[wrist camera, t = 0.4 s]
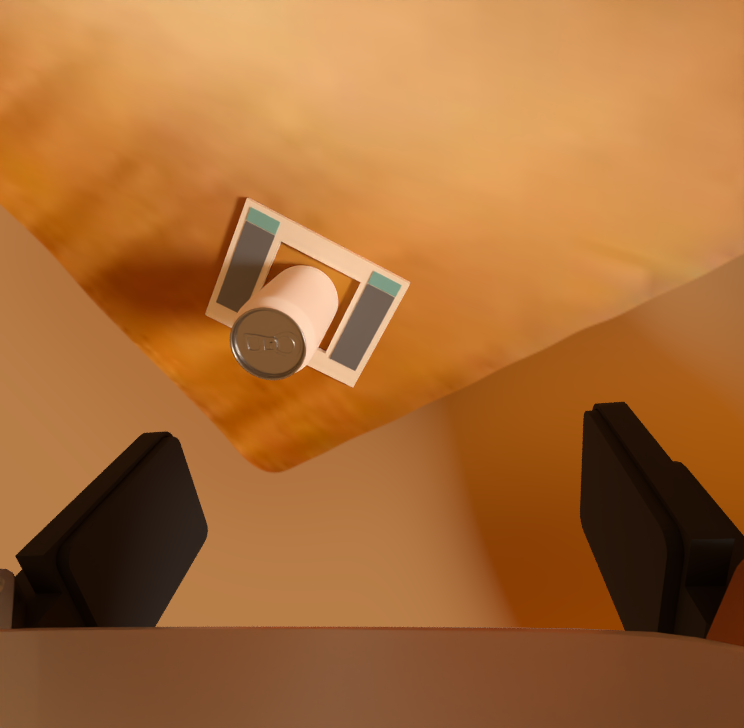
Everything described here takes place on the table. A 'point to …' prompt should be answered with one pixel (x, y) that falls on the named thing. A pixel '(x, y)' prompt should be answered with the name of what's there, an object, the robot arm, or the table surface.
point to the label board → (269, 228)
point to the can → (284, 323)
